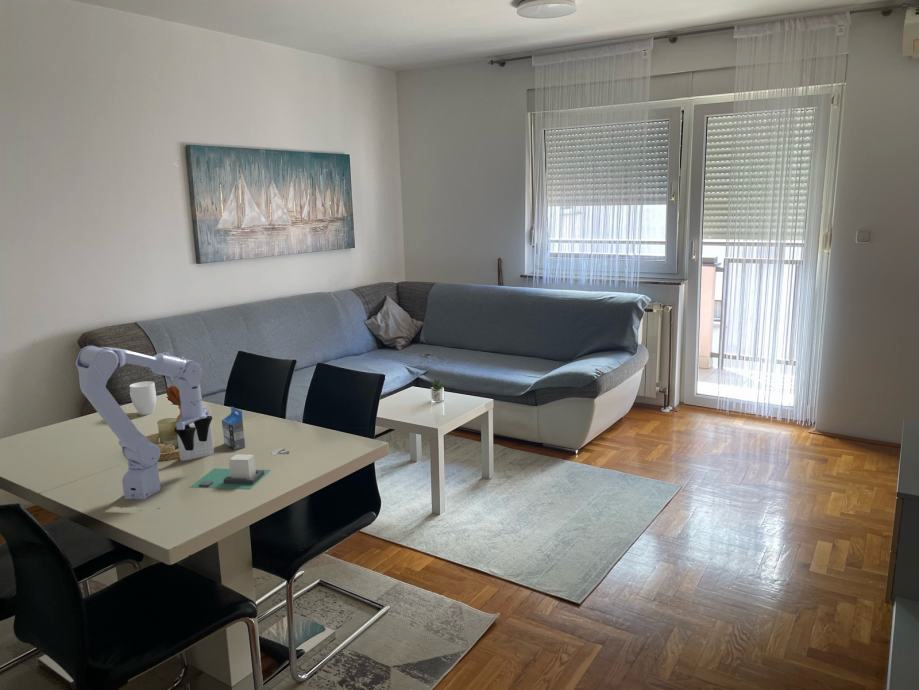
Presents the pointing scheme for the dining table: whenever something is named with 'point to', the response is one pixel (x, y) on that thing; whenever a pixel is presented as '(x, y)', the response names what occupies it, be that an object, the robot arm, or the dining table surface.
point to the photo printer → (197, 446)
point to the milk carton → (233, 429)
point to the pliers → (280, 451)
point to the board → (227, 480)
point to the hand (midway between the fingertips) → (196, 445)
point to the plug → (242, 466)
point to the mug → (143, 397)
